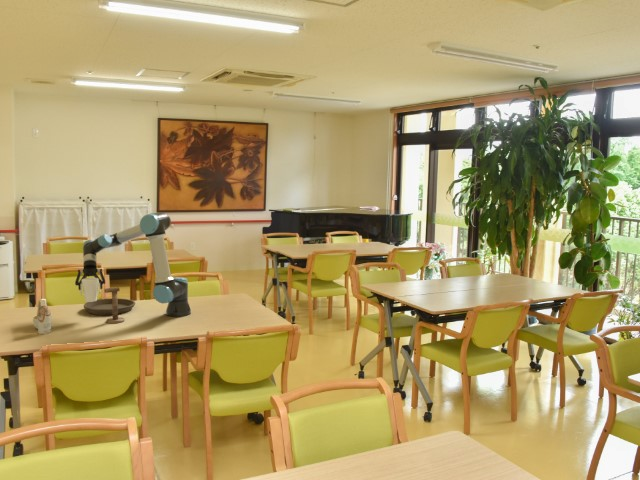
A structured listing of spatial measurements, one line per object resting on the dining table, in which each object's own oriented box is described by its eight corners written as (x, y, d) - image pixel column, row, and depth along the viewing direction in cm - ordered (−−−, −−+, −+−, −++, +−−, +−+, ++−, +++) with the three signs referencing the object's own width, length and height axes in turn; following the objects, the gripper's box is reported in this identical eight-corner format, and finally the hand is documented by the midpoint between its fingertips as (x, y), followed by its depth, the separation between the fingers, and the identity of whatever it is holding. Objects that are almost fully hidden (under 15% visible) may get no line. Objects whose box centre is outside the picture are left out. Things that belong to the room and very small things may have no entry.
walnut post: (126, 321, 347) (126, 288, 345) (109, 324, 341) (108, 290, 338) (120, 318, 355) (119, 285, 352) (103, 320, 348) (102, 287, 346)
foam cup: (83, 303, 343) (82, 281, 342) (81, 299, 351) (80, 278, 350) (100, 301, 348) (99, 279, 346) (98, 298, 356) (97, 277, 354)
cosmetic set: (31, 324, 339) (29, 292, 337) (48, 322, 344) (47, 290, 342) (36, 335, 318) (34, 301, 316) (54, 332, 323) (53, 299, 321)
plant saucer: (128, 302, 396) (128, 295, 395) (141, 312, 370) (141, 305, 370) (79, 307, 379) (79, 300, 379) (89, 318, 354) (89, 311, 353)
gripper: (109, 265, 365) (110, 295, 353) (70, 267, 358) (70, 298, 345) (109, 258, 360) (110, 288, 347) (70, 260, 352) (69, 291, 339)
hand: (90, 293), depth 346 cm, fingers closed on foam cup, 9 cm apart
